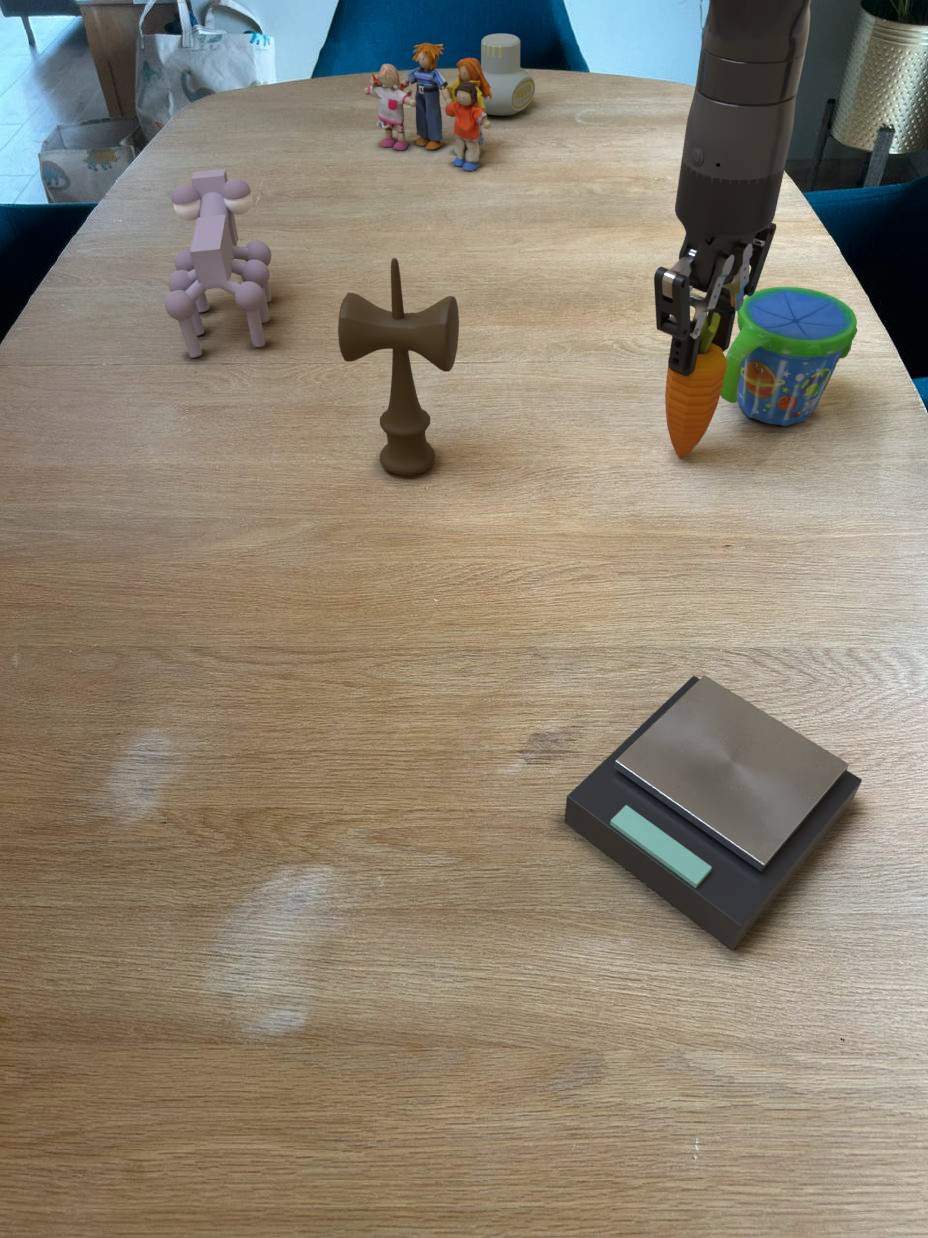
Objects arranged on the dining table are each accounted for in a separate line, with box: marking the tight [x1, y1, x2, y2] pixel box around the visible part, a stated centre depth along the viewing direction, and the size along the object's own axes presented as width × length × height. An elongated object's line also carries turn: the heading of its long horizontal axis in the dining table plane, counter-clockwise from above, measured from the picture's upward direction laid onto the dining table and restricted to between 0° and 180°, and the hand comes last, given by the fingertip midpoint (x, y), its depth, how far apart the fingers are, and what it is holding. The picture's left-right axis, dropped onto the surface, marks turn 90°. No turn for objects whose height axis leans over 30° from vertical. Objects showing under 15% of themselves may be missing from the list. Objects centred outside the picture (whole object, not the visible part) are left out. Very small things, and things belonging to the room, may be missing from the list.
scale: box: [563, 675, 863, 951], centre depth 65 cm, size 14×13×4 cm
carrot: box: [664, 313, 727, 458], centre depth 88 cm, size 5×5×15 cm
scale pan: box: [614, 675, 850, 872], centre depth 64 cm, size 10×11×1 cm
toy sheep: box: [164, 168, 272, 359], centre depth 108 cm, size 20×11×14 cm, turn 5°
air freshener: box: [480, 33, 536, 117], centre depth 153 cm, size 11×8×10 cm
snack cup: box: [720, 286, 858, 427], centre depth 95 cm, size 16×10×10 cm
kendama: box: [337, 257, 460, 476], centre depth 86 cm, size 6×10×20 cm, turn 81°
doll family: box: [363, 42, 493, 172], centre depth 141 cm, size 21×10×13 cm, turn 55°
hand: (698, 358), depth 86 cm, fingers closed on carrot, 4 cm apart
